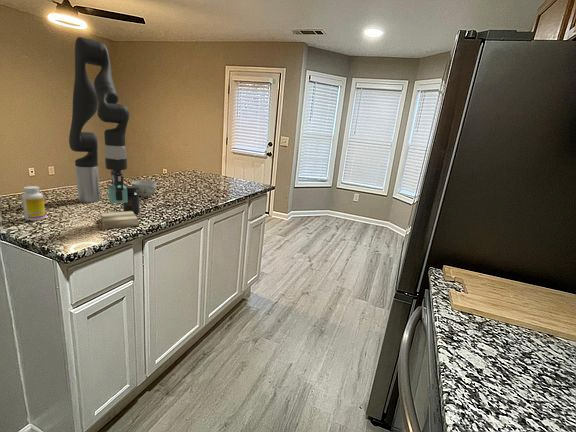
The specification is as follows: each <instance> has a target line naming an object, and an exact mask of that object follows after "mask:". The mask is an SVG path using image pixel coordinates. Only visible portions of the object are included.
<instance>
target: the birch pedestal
mask: <svg viewBox="0 0 576 432" xmlns="http://www.w3.org/2000/svg"><path fill="white" fill-rule="evenodd" d="M100 220H101V222H102V226H103V228H104V229H116V228H127V227H137V226H139V225H138V220H139V219H138V217H137V216H136V214H134V213H133V211H111V212H110V211H109V212H100Z"/></svg>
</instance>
